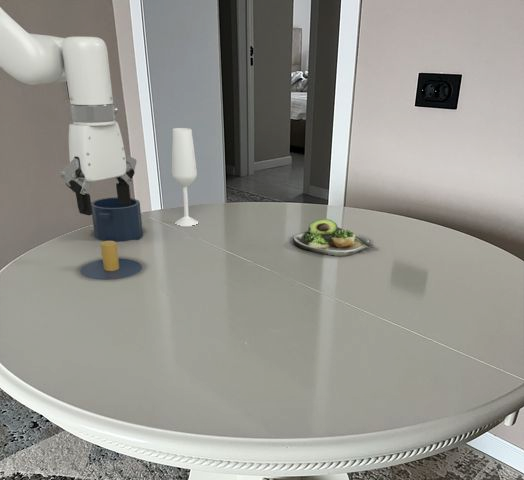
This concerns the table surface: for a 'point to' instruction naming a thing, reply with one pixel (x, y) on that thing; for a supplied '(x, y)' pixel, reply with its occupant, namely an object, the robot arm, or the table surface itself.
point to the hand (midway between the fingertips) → (106, 209)
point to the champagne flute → (184, 167)
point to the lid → (110, 265)
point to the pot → (116, 220)
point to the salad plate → (331, 239)
